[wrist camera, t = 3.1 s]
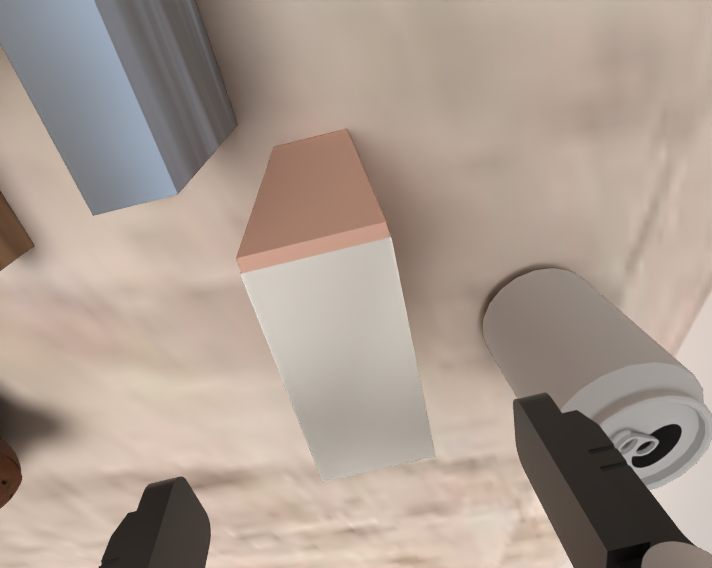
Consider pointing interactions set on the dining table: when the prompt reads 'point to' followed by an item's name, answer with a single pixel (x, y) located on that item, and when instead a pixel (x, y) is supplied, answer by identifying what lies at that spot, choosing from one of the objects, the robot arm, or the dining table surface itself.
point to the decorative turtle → (8, 473)
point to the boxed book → (335, 308)
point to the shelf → (117, 97)
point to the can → (599, 370)
